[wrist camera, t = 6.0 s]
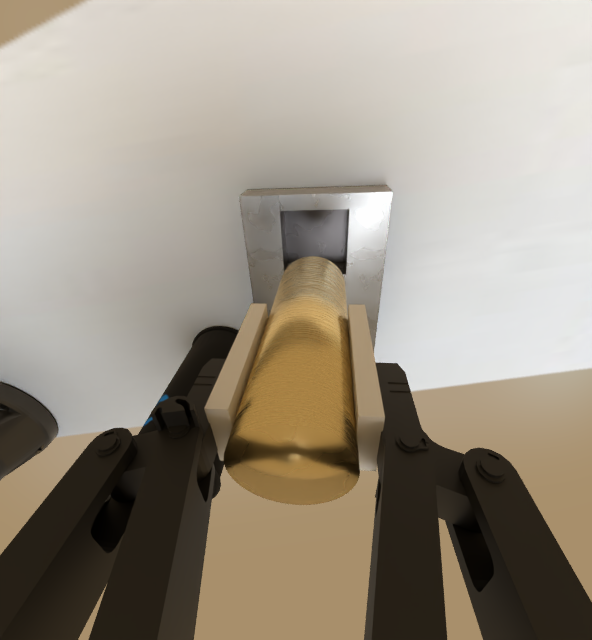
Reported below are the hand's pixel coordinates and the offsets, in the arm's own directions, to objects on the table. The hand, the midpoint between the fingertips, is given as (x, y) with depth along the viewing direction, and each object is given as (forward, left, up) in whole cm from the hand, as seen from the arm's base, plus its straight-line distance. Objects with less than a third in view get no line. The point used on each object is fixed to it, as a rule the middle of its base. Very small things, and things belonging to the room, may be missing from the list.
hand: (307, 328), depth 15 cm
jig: (0, -4, -16) cm, 16 cm away
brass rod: (0, 0, -5) cm, 5 cm away
